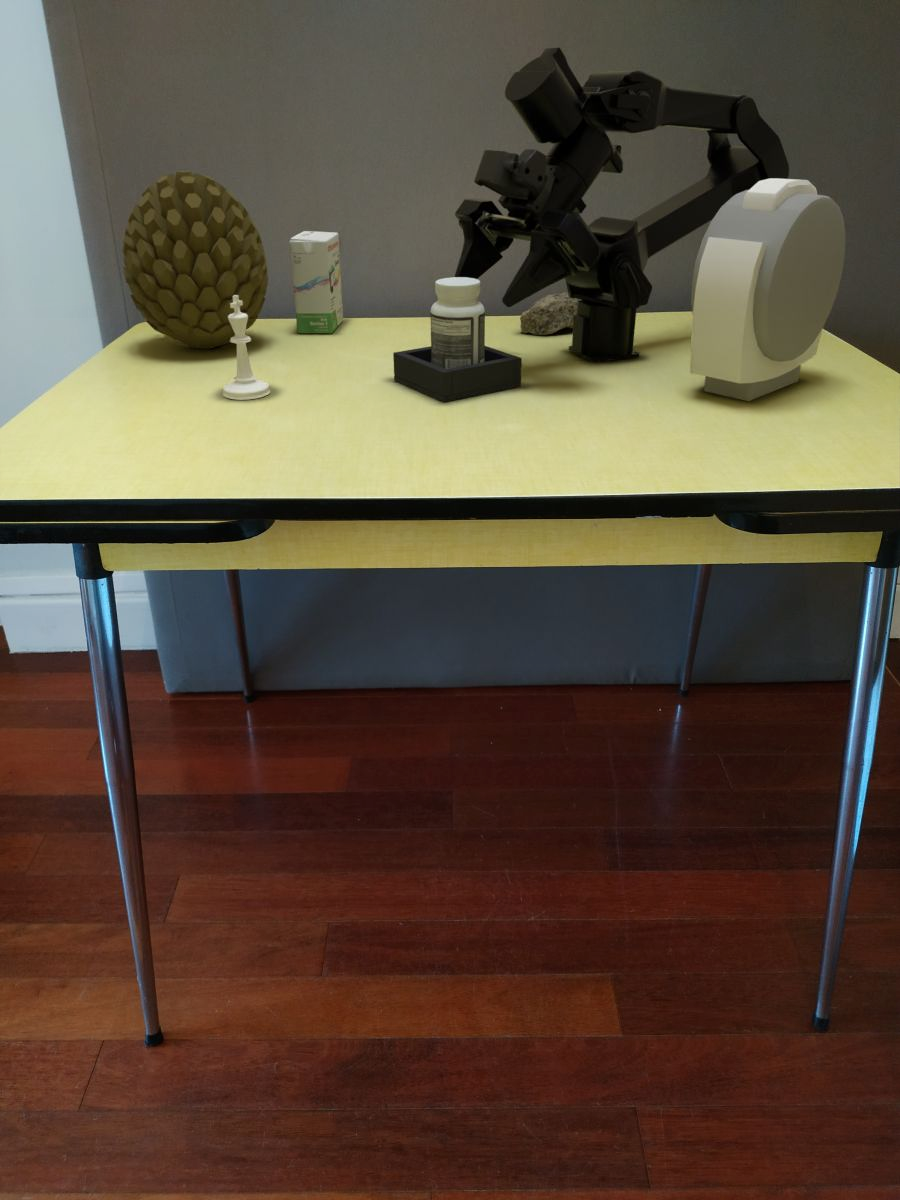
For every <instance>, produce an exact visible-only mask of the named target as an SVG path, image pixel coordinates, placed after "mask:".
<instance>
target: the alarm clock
mask: <svg viewBox="0 0 900 1200" xmlns="http://www.w3.org/2000/svg"><path fill="white" fill-rule="evenodd" d="M845 256H846V228H845V220H844V216H843V213H842V211H841V207H840V206H839V204H837V202H835V200H834V199H833V198H832V197H830V196H828V195H824V194H818V191H817V187H816V186H814V184H813V183H812V182H810V181H809V180H808V179H797V178H795V179H794V178H788V179H778V178H769V179H765V180H761V181H758V182H757V183H756V184H755V185H754V186H753V187H752V188H751V189H750V190H745V191H743V192H740V193H738V194H736V195H734V196H733V197H732V198H731V199H729V200H728V201H727V202H726V203H725V204H724V205H723V206H722V207H721V208H720V209H719V211H718V212H717V214H716V215H715V217H714V218H713V219H712V220H711V221H710V223H709V225H708V226H707V229H706V231H705V233H704V236H703V237H702V240H701V243H700V246H699V250H698V252H697V256H696V259H695V262H694V269H693V273H692V279H691V292H690V294H691V295H690V304H691V313H692V320H691V321H692V322H691V338H690V363H689V364H690V365H689V366H690V367H689V368H690V369H689V373H690V374H694V375H699V376H702V377H705V379H704V387H703V392H706V393H711V394H715V395H720V396H724V397H729V398H731V399H732V398H733V399H736V400H737V399H738V400H742V401H745V402H750V401H752V400H755V399H758V398H760V397H763V396H765V395H768V394H769V393H773V392H775V391H777V390H779V389H782V388H784V387H787V386H789V385H792V384H794V383H797V382H799V377H800V372H801V366H802V365H803V364H805V363H806V362H808V361H809V360H810V359H812V358H814V357H815V356H816V355H817V352H818V349H819V344H820V341H821V338H822V337H821V336H822V333H823V330H824V327H825V325H826V322H827V320H828V318H829V316H830V313H831V312H832V309H833V306H834V304H835V301H836V297H837V294H838V291H839V287H840V283H841V280H842V276H843V271H844V265H845V263H844V262H845Z"/></svg>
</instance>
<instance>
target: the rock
mask: <svg viewBox="0 0 900 1200" xmlns="http://www.w3.org/2000/svg"><path fill="white" fill-rule="evenodd" d="M578 301H581V300H580V299H576V298H575V299H572V298H569V294H568V292H565V291H564V292H561V293H555V294H549V295H545V296H543V297H541V298H540V299H537V300H535V301H533V303H532V305H531V306H530V307H529V308H528V310H526V311H523V312H522V313H521V315H520V317H519V320H520V327H519V328H520V331H521V332H522V333H530V334H532V335H533V336H546V335H552V334H554V333H556V332H558V331H560V330H562V329H566V328H568V329H573V319H574V315H575V314H577V308H578Z"/></svg>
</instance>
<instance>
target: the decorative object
mask: <svg viewBox="0 0 900 1200" xmlns="http://www.w3.org/2000/svg"><path fill="white" fill-rule="evenodd" d="M175 173H176V174H174V173H171V174H170V173H169V174H166V175H163V176H162V177H160V178H158V180H157V181H156V186H155V184H154V183H152V182H151V184H150V185H149V186H148V187H147V189H145V191H143V192H142V194H141V196H142V197H141V199H140V201H139V203H137V204H134V205H133V207H132V209H131V211H130V214H129V215H128V219H127V224H126V228H125V233H124V236H123V240H122V254H123V256H122V257H123V264H124V266H122V267H123V273H124V278H125V282H126V284H127V285H128V287H129V290H130V292H131V294H130V297H131V300H132V302H133V304H134V306H135V308H136V309H137V310H138V311H139V312H140V314H141V316H142V317H143V318H144V319H145V322H146V323H147V324H148V325H149V326H150V328H152V329H153V330H154V331H155V332H157V333H160V334H162V335H164V336H166V337H169V338H170V339H173V340H174V341H177V342H178V343H180V344H183V345H185V346H186V347H189V348H194V349H205V350H206V349H213V348H217V347H220V346H224V345H226V344H228V343H231V342H230V340H231V337H234V335H235V333H234V331H233V328H232V326H231V323H230V322H229V319H228V316H229V315H230V314H232V313H234V308H230V303H233V296H234V295H238V296H239V300H241V301H242V302H243V305H242V306H240V312H242V313H245V314H247V315H248V321H247V325H246V331H247V330H249V328H251V327H252V326H253V325H254V324H255V322H256V321H257V319H258V317H259V314H261V312H262V309H263V308H264V304H265V301H266V294H267V288H268V285H269V275H268V265H267V259H266V253H265V249H264V246H263V241H262V239H261V235H260V232H259V230H258V228H257V226H256V225H255V223H254V220H253V219H252V217H251V216H250V214H249V212H248V210H247V209H246V208H245V206H244V205H243V204H242V203H241V202H240V200H239V199H238V198H237V197H236V196H235V195H234V193H232V192H230V191H229V190H228V189H227V188H225V187H224V186H223V185H222V184H220V183H219V182H218V181H216V180H215V179H214V178H213V177H211V176H209V175H207V174H203V175H202V174H199V173H192V171H191V170H183V171H181V170H179V171H176V172H175Z"/></svg>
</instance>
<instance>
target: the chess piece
mask: <svg viewBox="0 0 900 1200" xmlns="http://www.w3.org/2000/svg"><path fill="white" fill-rule="evenodd" d="M242 305H243V302H242V301H241V300H239V296H238V295H234V296H233V303H230V308H234V313H232V314H230V315H229V316H228V319H229V322H230V323H231V326H232V328H233V331H234V333H235V335H234V337H231V340H230V342H229V343H233V344H236V374H235V375H236V376H234V377H233V381H230V382H228V383H226V384H225V385H224V386H223V388H222V390H223V392H222V395H223V397H224V398H226V399H231V400H236V401H237V400H238V401H243V400H244V401H245V400H247V401H248V400H254V399H255V400H256V399H260V398H264V397H266V396H268V395H269V394H270V393H271V389H270V385H269V383H267V382H266V381H264V380H262V379H261V380H260V379H257V376H256V375H254V373H253V370H252V366H251V362H250V357H249V354H248V348H247V344H248V343H250V342H252V338H251V336H249V335H247V334H246V331H247V330H246V325H247V321H248V315H247V314H245V313H242V312H240V306H242Z"/></svg>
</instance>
